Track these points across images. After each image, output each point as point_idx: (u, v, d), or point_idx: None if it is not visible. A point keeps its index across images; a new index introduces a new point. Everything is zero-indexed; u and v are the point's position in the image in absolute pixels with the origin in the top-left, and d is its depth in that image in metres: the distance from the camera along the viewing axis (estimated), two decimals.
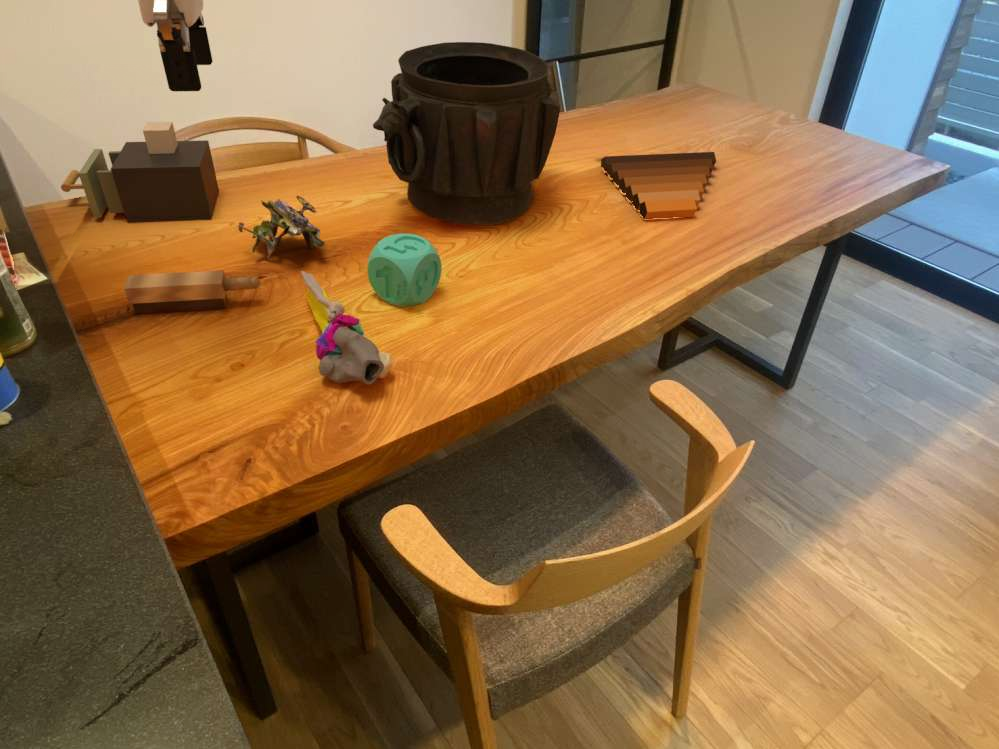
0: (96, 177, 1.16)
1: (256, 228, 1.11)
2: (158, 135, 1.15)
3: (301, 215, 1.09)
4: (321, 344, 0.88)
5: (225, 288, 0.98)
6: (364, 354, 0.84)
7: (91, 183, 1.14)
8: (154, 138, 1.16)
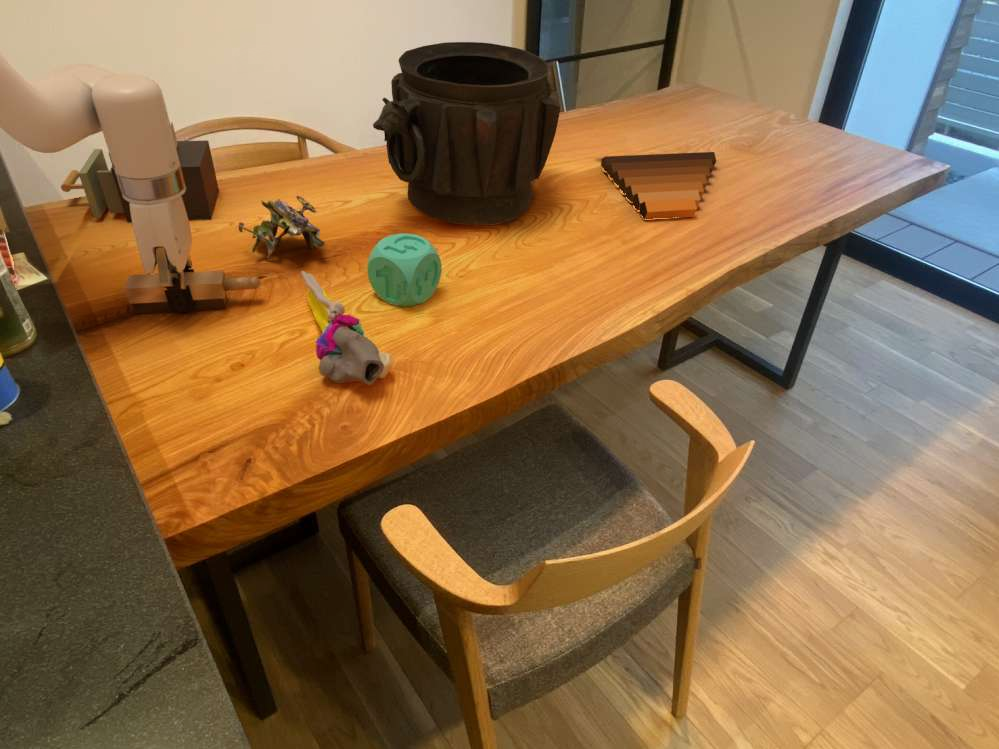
0: (96, 177, 1.16)
1: (256, 228, 1.11)
2: None
3: (301, 215, 1.09)
4: (321, 344, 0.88)
5: (225, 288, 0.98)
6: (364, 354, 0.84)
7: (91, 183, 1.14)
8: None
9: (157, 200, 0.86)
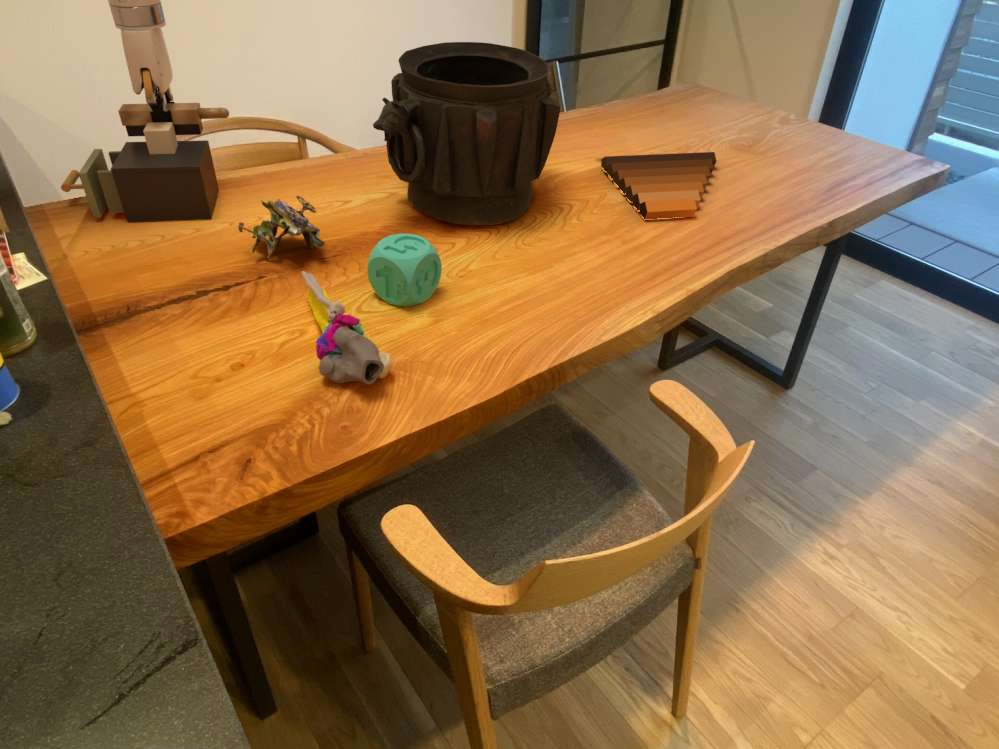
0: (96, 177, 1.16)
1: (256, 228, 1.11)
2: (159, 135, 1.15)
3: (301, 215, 1.09)
4: (321, 344, 0.88)
5: (200, 116, 1.21)
6: (364, 354, 0.84)
7: (91, 183, 1.14)
8: (154, 138, 1.15)
9: (142, 27, 1.09)
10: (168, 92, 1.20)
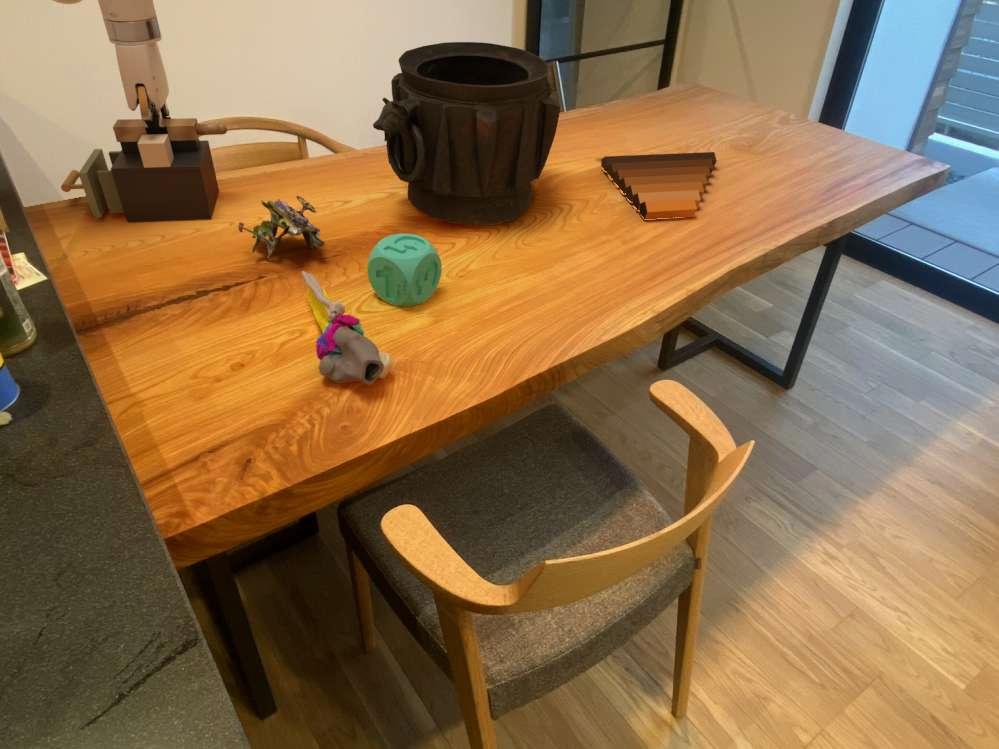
0: (96, 177, 1.16)
1: (256, 228, 1.11)
2: (153, 148, 1.11)
3: (301, 215, 1.09)
4: (321, 344, 0.88)
5: (197, 132, 1.18)
6: (364, 354, 0.84)
7: (91, 183, 1.14)
8: (149, 151, 1.11)
9: (137, 42, 1.05)
10: (164, 107, 1.17)
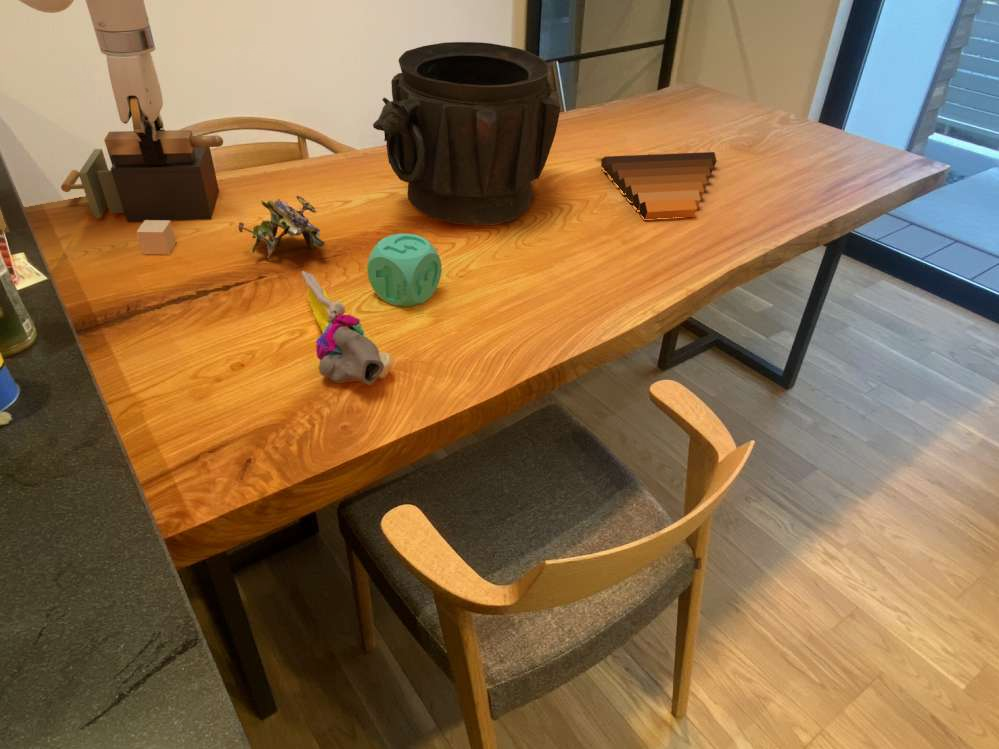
0: (96, 177, 1.16)
1: (256, 228, 1.11)
2: (157, 222, 1.10)
3: (301, 215, 1.09)
4: (321, 344, 0.88)
5: (192, 144, 1.13)
6: (364, 354, 0.84)
7: (91, 183, 1.14)
8: (151, 224, 1.10)
9: (130, 53, 1.01)
10: (158, 120, 1.13)
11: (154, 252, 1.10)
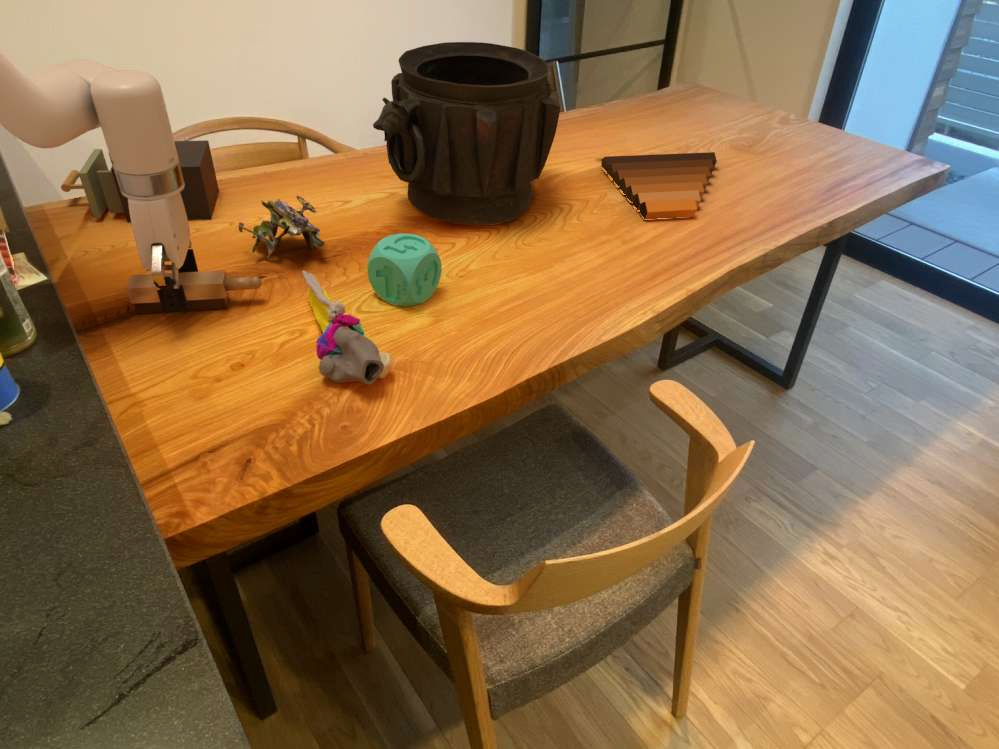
0: (96, 177, 1.16)
1: (256, 228, 1.11)
2: None
3: (301, 215, 1.09)
4: (321, 344, 0.88)
5: (226, 288, 0.98)
6: (364, 354, 0.84)
7: (91, 183, 1.14)
8: None
9: (156, 196, 0.85)
10: None
11: None
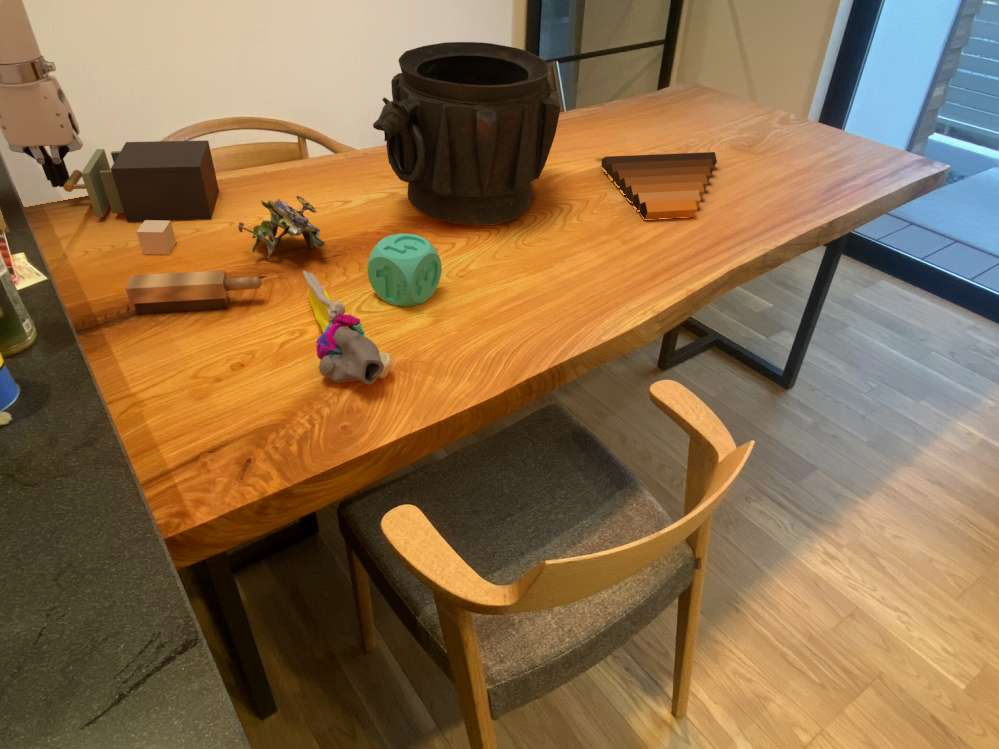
0: (98, 177, 1.16)
1: (256, 228, 1.11)
2: (157, 222, 1.10)
3: (301, 215, 1.09)
4: (322, 344, 0.88)
5: (226, 288, 0.98)
6: (364, 354, 0.84)
7: (94, 183, 1.14)
8: (151, 224, 1.10)
9: None
10: None
11: (154, 252, 1.10)
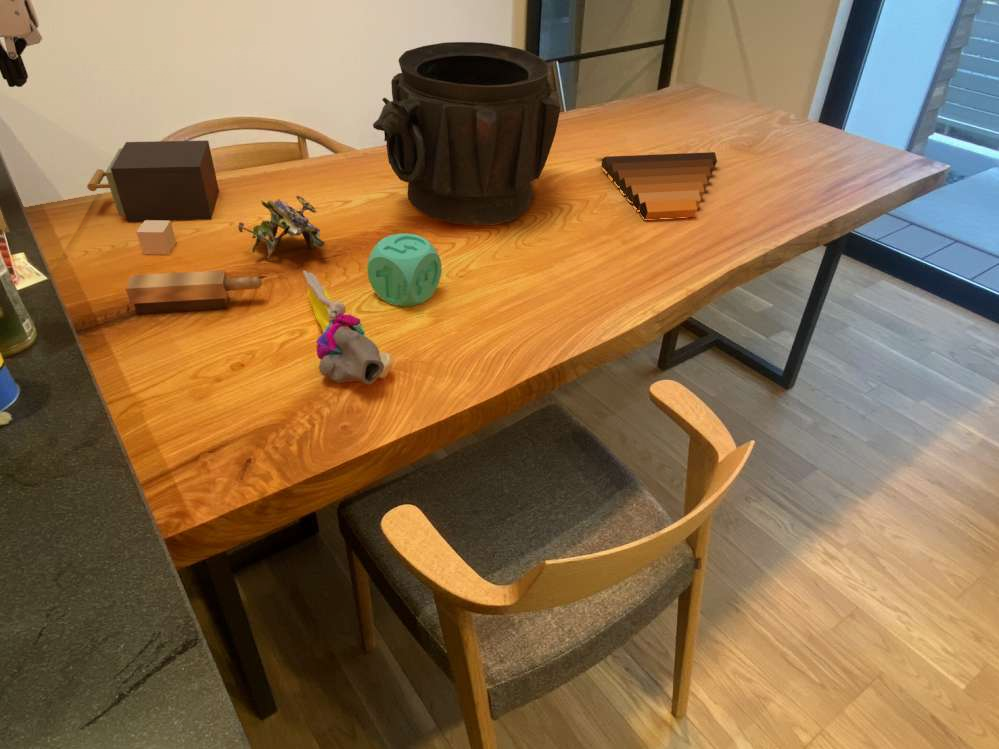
0: None
1: (256, 228, 1.11)
2: (157, 222, 1.10)
3: (301, 215, 1.09)
4: (322, 344, 0.88)
5: (226, 288, 0.98)
6: (364, 354, 0.84)
7: None
8: (151, 224, 1.10)
9: None
10: None
11: (154, 252, 1.10)
